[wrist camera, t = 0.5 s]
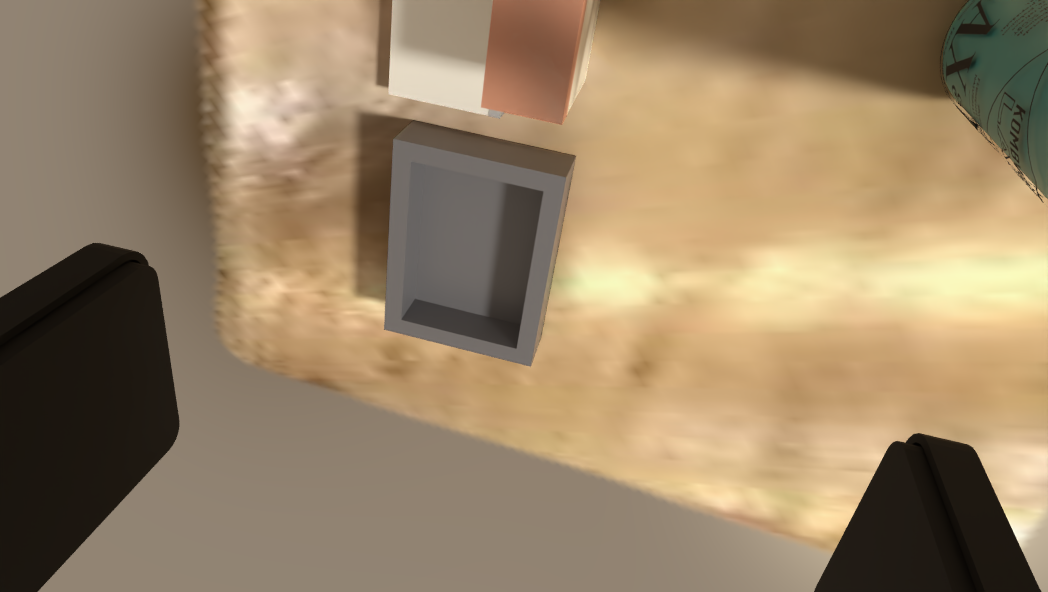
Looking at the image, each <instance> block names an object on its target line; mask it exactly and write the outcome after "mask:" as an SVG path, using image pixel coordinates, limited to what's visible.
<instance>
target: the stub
mask: <svg viewBox="0 0 1048 592" xmlns="http://www.w3.org/2000/svg"><path fill="white" fill-rule="evenodd" d="M600 1H601V0H493V4H492V13H491V22H490V30H489V39H488V48H487V57H486V66H485V75H484V84H483V93H482V101H481V108H486V109H491V110H495V111H500V112H505V113H509V114H514V115H519V116H523V117H528V118H533V119H537V120H542V121H546V122H551V123H556V124H560V125H562V124H563V122H564V120H565V118H566V116H567V113H568V111H569V110H570V108H571V106H572V104H573V102H574V100H575V99H576V97H577V95H578V93H579V91H580V89H581V87H582V86H583V84H584V82H585V80H586V75H587V70H588V65H589V59H590V54H591V49H592V43H593V38H594V33H595V27H596V22H597V17H598V12H599V6H600Z"/></svg>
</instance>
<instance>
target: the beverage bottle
mask: <svg viewBox="0 0 1048 592" xmlns="http://www.w3.org/2000/svg"><path fill="white" fill-rule="evenodd" d="M955 18H956V19H954V20H953V22H952V23H953V24H951V25H952V26H950V27H951V28H950V27H949V29H950V30H948V31H949V32H947V33H948V35H947V34H946V35H947V38H946V36H945V38H946V41H945V39H944V41H945V46H944V51H943V66H942V67H943V68H942V69H943V70H942V71H943V74H944V77H943V78H945V80H944V79H943V80H944V81H945V82H946V84H947V87H948V89H949V91H950V92H951V94H952V96H953V97H954V98H955V99H956V102H957V103H958V104H960V106H962V107H963V108H964V109H965V110H966V111H967V113H968V114H969V115H970V116H971V117H972V118H973V121H974V120H975V121H976V123H974V122H972V121H971V120H972V119H971V120H969V119H968V118H969V117H968V118H967V116H968V115H967V116H966V115H965V114H964V113H963V112H962V111H961V110H960V109H959V108H958V107H957V106H956V107H957V108H958V109H959V110H960V111H961V113H962V114H963V115H964V116H965V117H966V118H967V119H968V120H969V121H970V123H971V124H972V125H973V126H974V127H975V128H976V129H977V126H979V125H980V127H981V128H982V129H983V130H984V131H985V132H986V133H987V134H988V135H989V136H990V138H992V139H993V141H994V142H995V143H996V144H997V145H998V146H999V147H1000V148H1001V149H1002V152H1003V151H1004V152H1005V153H1006V155H1007V157H1005V156H1004V157H1005V158H1006V159H1007V158H1010V159H1011V160H1012V161H1013V162H1014V164H1015V166H1016V167H1017V166H1018V167H1017V168H1018V170H1019V169H1020V170H1021V171H1022V172H1023V173H1024V174H1025V175H1026V176H1027V177H1028V178H1029V179H1030V180H1031V182H1032V183H1033V184H1034V185H1035V186H1036V191H1037V188H1038V189H1039V190H1040V191H1041V192H1042V193H1043V194H1044V196H1045V197H1046V198H1047V199H1048V0H969V1H968V2H967V3H966V4H965V5H964V6H963V8H962V9H961V10H960V12H959V13H958V14H957V16H956V17H955ZM943 44H944V42H943ZM942 48H943V46H942ZM941 53H942V50H941ZM940 63H941V56H940ZM940 73H941V69H940ZM941 79H942V78H941ZM945 82H944V84H945ZM942 83H943V82H942ZM945 88H946V87H945ZM945 88H944V89H945ZM946 90H947V89H946ZM947 93H948V91H947ZM947 93H946V94H947ZM948 95H949V94H948ZM950 99H951V98H950ZM953 102H954V101H953ZM953 104H954V103H953ZM955 105H956V104H955ZM977 123H978V124H979V125H978V124H977ZM978 128H979V127H978ZM981 128H980V129H979V130H981ZM977 130H978V129H977ZM981 131H982V130H981ZM981 131H979V132H981ZM981 133H983V132H981ZM984 135H985V133H984ZM984 137H985V136H984ZM985 138H986V139H987V137H985ZM987 140H988V139H987ZM988 141H989V140H988ZM989 142H990V141H989ZM990 143H991V142H990ZM992 144H993V143H992ZM990 145H991V144H990ZM993 145H994V144H993ZM991 146H992V145H991ZM994 146H995V145H994ZM992 147H993V146H992ZM996 147H997V146H996ZM996 149H997V148H996ZM996 151H997V150H996ZM1003 155H1004V154H1003ZM1007 162H1008V161H1007ZM1008 164H1009V162H1008ZM1018 170H1017V171H1018ZM1020 170H1019V171H1020ZM1014 171H1015V172H1017V171H1016V170H1015V169H1014ZM1019 171H1018V172H1017V173H1020V172H1021V171H1020V172H1019ZM1022 172H1021V174H1022V175H1023V173H1022ZM1017 175H1018V176H1019V175H1020V174H1017ZM1022 175H1021V176H1022ZM1019 177H1020V176H1019ZM1022 177H1023V176H1022ZM1022 177H1020V178H1022ZM1024 179H1025V178H1024V177H1023V178H1022V180H1023V181H1025V180H1024ZM1025 182H1026V183H1027V182H1028V181H1027V180H1026V181H1025ZM1027 184H1028V183H1027ZM1030 184H1031V183H1030ZM1031 185H1032V184H1031ZM1034 185H1033V186H1034ZM1029 186H1030V185H1029ZM1029 186H1028V187H1029ZM1035 186H1034V187H1035ZM1030 189H1031V188H1030ZM1032 189H1033V188H1032ZM1032 189H1031V190H1032ZM1032 191H1033V192H1034V191H1035V190H1034V189H1033V190H1032ZM1034 193H1035V192H1034ZM1035 194H1036V193H1035ZM1037 194H1038V191H1037ZM1037 194H1036V196H1037ZM1039 195H1040V194H1038V196H1039ZM1040 196H1041V195H1040ZM1041 197H1043V196H1041ZM1039 198H1040V197H1039ZM1040 199H1041V198H1040ZM1041 201H1042V202H1043V200H1042V199H1041Z"/></svg>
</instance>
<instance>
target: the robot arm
mask: <svg viewBox="0 0 1048 592" xmlns="http://www.w3.org/2000/svg"><path fill="white" fill-rule="evenodd" d="M178 430H179V415H178V409H177V402H176V396H175V389H174V382H173V376H172V369H171V362H170V355H169V348H168V341H167V336H166V328H165V322H164V316H163V308H162V301H161V295H160V288H159V281H158V276H157V273H156V271H155V270H154V269H153V268H152V267H150V266H149V265H148V261H147V260H146V258H145V257H144V256H143V255H142V254H141V253H139V252H136V251H132V250H128V249H123V248H119V247H114V246H110V245H106V244H101V243H92V244H90V245H87V246H85V247H83V248H82V249H80V250H79V251H77V252H75V253H74V254H72V255H70V256H69V257H67V258H65V259H64V260H62V261H60V262H59V263H57V264H55V265H54V266H52V267H50V268H49V269H47V270H46V271H44V272H42V273H41V274H39V275H37V276H35V277H34V278H32V279H31V280H29V281H27V282H26V283H24V284H22V285H21V286H19V287H17V288H16V289H14V290H12V291H11V292H9V293H7V294H6V295H4V296H2V297H1V298H0V592H38V591H39V589H40V588H41V587H42V586H43V585H44V584H45V583H46V582H47V581H48V580H49V579H50V578H51V577H52V575H53V574H54V573H55V572H56V571H57V570H58V569H59V568H60V567H61V566H62V565H63V564H64V563H65V561H66V560H67V559H68V558H69V557H70V556H71V555H72V554H73V553H74V552H75V551H76V550H77V549H78V547H79V546H80V545H81V544H82V543H83V542H84V541H85V540H86V539H87V537H89V536H90V535H91V534H92V532H93V531H94V530H95V529H96V528H97V527H98V526H99V525H100V524H101V523H102V522H103V521H104V520H105V518H106V517H107V516H108V515H109V514H110V513H111V512H112V511H113V510H114V509H115V508H116V507H117V506H118V504H119V503H120V502H121V501H122V500H123V499H124V498H125V497H126V496H127V495H128V494H129V493H130V492H131V490H132V489H133V488H134V487H135V486H136V485H137V484H138V483H139V482H140V481H141V480H142V479H143V477H144V476H145V475H146V474H147V473H148V472H149V471H150V470H151V469H152V468H153V467H154V465H155V464H157V462H158V461H159V460H160V459H161V458H162V457H163V456H164V455H165V454H166V453H167V452H168V451H169V449H170V448H171V447H172V445H173V444H174V442H175V440H176V437H177V435H178ZM814 592H1041V590H1040V589H1039V586H1038V584H1037V582H1036V580H1035V578H1034V576H1033V573H1032V571H1031V569H1030V567H1029V565H1028V563H1027V561H1026V558H1025V556H1024V554H1023V552H1022V550H1021V548H1020V545H1019V543H1018V541H1017V539H1016V537H1015V535H1014V532H1013V530H1012V528H1011V526H1010V524H1009V522H1008V519H1007V517H1006V515H1005V513H1004V511H1003V509H1002V507H1001V504H1000V502H999V500H998V498H997V496H996V494H995V491H994V489H993V487H992V485H991V483H990V481H989V478H988V476H987V474H986V472H985V470H984V468H983V465H982V463H981V461H980V459H979V457H978V455H977V453H976V451H975V450H974V449H973V447H971V446H969V445H967V444H963V443H959V442H955V441H950V440H946V439H942V438H938V437H933V436H929V435H925V434H920V433H917V434H913V435H912V436H911V437H910V438H909V439H908V440H907V441H906V443H904V442H900V441H895V442H893V443H892V444H891V445H890V446H889V448H888V449H887V451H886V453H885V455H884V457H883V459H882V461H881V463H880V465H879V467H878V468H877V470H876V472H875V474H874V476H873V478H872V480H871V482H870V484H869V486H868V488H867V490H866V492H865V493H864V495H863V497H862V499H861V501H860V503H859V505H858V507H857V509H856V511H855V513H854V515H853V517H852V518H851V520H850V522H849V524H848V526H847V528H846V530H845V532H844V534H843V536H842V538H841V540H840V542H839V544H838V545H837V547H836V549H835V551H834V553H833V555H832V557H831V559H830V561H829V563H828V565H827V567H826V569H825V570H824V572H823V574H822V576H821V578H820V580H819V582H818V584H817V586H816V588H815V591H814Z"/></svg>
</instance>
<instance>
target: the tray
mask: <svg viewBox="0 0 1048 592" xmlns="http://www.w3.org/2000/svg"><path fill="white" fill-rule="evenodd" d="M575 159H576V156H573V155H569V154H564V153H560V152H555V151H551V150H546V149H542V148H537V147H532V146H528V145H523V144H519V143H514V142H510V141H505V140H501V139H496V138H492V137H487V136H482V135H478V134H473V133H469V132H464V131H460V130H455V129H451V128H446V127H442V126H437V125H433V124H428V123H423V122H419V121H414V120H413V121H412V122H411V123H410V124H409V125H408V126H407V127H406V128H405V129H403V130H402V131H401V132H400V133H399V134H398V135H397V136H396V137H395V138H394V139H393V155H392V176H391V197H390V218H389V239H388V260H387V281H386V303H385V324H384V330H388V331H392V332H396V333H400V334H404V335H408V336H412V337H416V338H420V339H424V340H428V341H432V342H436V343H440V344H444V345H447V346H451V347H455V348H459V349H463V350H467V351H471V352H475V353H479V354H483V355H487V356H491V357H495V358H499V359H503V360H507V361H511V362H515V363H519V364H523V365H526V366H530V367H531V365H532V362H533V359H534V356H535V353H536V351H537V348H538V345H539V342H540V339H541V335H542V330H543V325H544V320H545V315H546V309H547V304H548V299H549V294H550V289H551V283H552V278H553V273H554V268H555V263H556V257H557V252H558V247H559V242H560V237H561V231H562V226H563V221H564V216H565V211H566V205H567V200H568V195H569V190H570V185H571V179H572V174H573V169H574V164H575Z"/></svg>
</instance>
